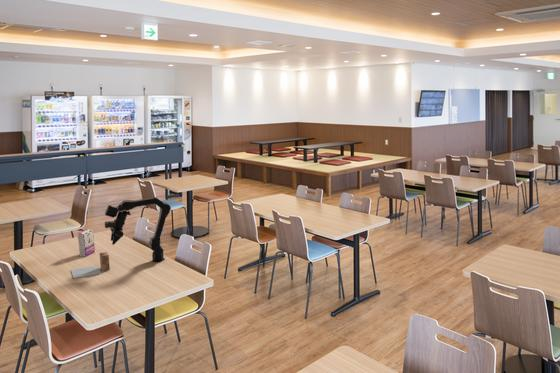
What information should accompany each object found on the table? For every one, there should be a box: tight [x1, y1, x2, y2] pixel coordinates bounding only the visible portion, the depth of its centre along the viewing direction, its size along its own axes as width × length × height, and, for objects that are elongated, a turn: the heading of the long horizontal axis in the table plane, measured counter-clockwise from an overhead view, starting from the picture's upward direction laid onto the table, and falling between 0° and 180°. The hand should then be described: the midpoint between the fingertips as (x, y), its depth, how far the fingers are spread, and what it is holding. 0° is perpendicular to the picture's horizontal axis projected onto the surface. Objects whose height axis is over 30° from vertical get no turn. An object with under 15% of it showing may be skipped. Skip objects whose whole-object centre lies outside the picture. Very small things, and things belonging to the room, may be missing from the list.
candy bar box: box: [77, 229, 96, 258], centre depth 336 cm, size 11×5×16 cm, turn 168°
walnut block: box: [99, 251, 111, 272], centre depth 307 cm, size 4×7×10 cm, turn 28°
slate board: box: [70, 265, 102, 279], centre depth 302 cm, size 16×16×1 cm
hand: (112, 242), depth 308 cm, fingers open, 9 cm apart
